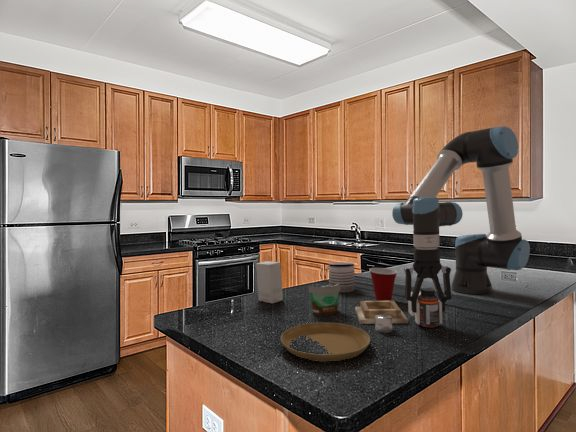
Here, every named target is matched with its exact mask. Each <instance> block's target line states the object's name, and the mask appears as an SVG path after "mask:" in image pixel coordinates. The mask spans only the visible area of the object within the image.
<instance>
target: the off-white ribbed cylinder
mask: <svg viewBox="0 0 576 432" xmlns="http://www.w3.org/2000/svg"><path fill="white" fill-rule="evenodd" d="M355 277H356V276H355V262H345V261H344V262H330V263H328V285H334V284H336V282H338V283H339V285H340V288H341V290H340V291H339V293H350V292H353V291H355V289H356V278H355Z"/></svg>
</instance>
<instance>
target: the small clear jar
mask: <svg viewBox="0 0 576 432" xmlns="http://www.w3.org/2000/svg"><path fill="white" fill-rule="evenodd" d="M374 325H375V326H374V327H375V328H374V329H375V331H376V332H379V333H384V334H386V333H392V331H393V323H392V316H390V315H385V314H380V315H376V316H375V324H374Z"/></svg>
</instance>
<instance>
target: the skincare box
mask: <svg viewBox="0 0 576 432" xmlns="http://www.w3.org/2000/svg"><path fill="white" fill-rule="evenodd" d="M255 268H256V282H257V295H258V301H259V302H262V301H263V302H264V303H267V304H268V303H269V304H274V303H275V304H276V303H278V302H281V301H283V300H284V297H283V285H282V284H283V281H282V269H281V262H280V261H269V260H267V261H266V260H265V261H262V262H257V263H255Z"/></svg>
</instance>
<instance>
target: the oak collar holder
mask: <svg viewBox="0 0 576 432" xmlns="http://www.w3.org/2000/svg"><path fill="white" fill-rule="evenodd" d="M354 309H355V310H354V311H355V313H356V315H357V319H358V321H359V324H360V325H370V324H372V325H373V324H374V325H375V316H376V315H380V314H385V315H390V316H392V324H409V318H407V316H406V314H404V312H403V311H402V309H401V308H400V307H399V306H398V304H397V303H396V301H395V300H394V299H393V300H392V299H391V301H377V300H360V306H355V307H354Z"/></svg>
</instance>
